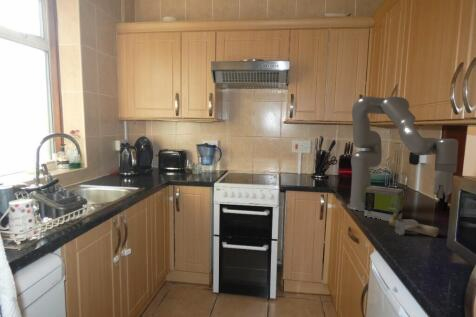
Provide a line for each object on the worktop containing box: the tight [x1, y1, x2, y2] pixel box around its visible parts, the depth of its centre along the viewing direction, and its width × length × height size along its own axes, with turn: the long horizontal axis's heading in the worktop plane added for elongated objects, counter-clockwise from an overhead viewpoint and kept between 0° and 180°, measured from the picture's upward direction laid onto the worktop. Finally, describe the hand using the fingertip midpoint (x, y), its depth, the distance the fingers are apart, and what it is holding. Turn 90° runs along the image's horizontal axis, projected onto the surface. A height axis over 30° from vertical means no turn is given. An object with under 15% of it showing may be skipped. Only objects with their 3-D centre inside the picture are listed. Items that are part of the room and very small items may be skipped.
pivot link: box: [388, 213, 440, 238], centre depth 126 cm, size 18×5×6 cm, turn 43°
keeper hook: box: [394, 218, 419, 236], centre depth 121 cm, size 3×8×6 cm, turn 93°
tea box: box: [363, 185, 404, 222], centre depth 142 cm, size 15×10×15 cm, turn 48°
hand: (442, 210), depth 123 cm, fingers closed
